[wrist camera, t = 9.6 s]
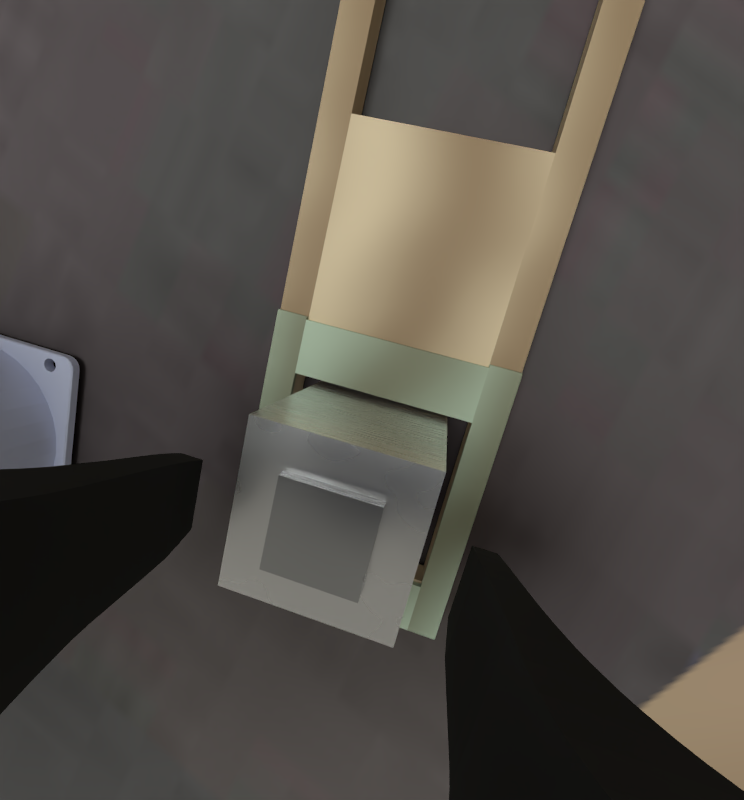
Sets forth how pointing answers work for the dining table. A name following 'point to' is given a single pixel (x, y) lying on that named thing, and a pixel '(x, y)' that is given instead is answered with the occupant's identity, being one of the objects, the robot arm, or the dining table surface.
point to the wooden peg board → (433, 263)
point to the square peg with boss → (335, 506)
